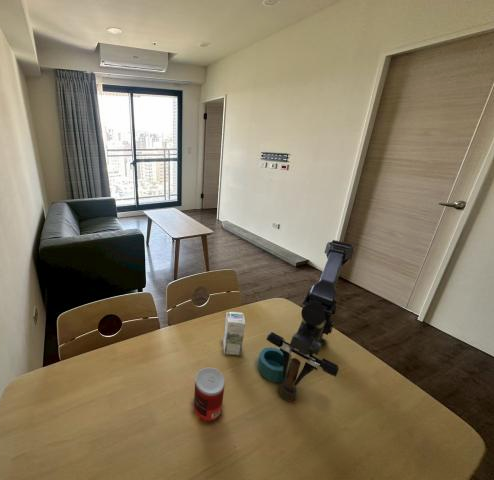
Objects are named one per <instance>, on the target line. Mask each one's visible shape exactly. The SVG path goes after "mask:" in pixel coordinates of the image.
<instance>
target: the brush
mask: <svg viewBox="0 0 494 480" xmlns="http://www.w3.org/2000/svg"><path fill="white" fill-rule="evenodd" d="M300 367H301V361H300V360H299V359H298V358H296V357H292V358H291V361H290V366H289V370H288V374H287V378H286V380H285V381H283V382H281V385H280V389H279V395H280V396H281V398H282V399H284V400H285V401H289V402H291V401H292V402H293V401H294V400H295V397H296V394H297V387H296V386H295V385H294V384H295V382H296V379H297V378H298V375H299V370H300Z"/></svg>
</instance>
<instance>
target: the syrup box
mask: <svg viewBox="0 0 494 480" xmlns="http://www.w3.org/2000/svg"><path fill="white" fill-rule="evenodd" d="M246 325H247V324H246V321H245V315H244V312H238V311H226V315H225V322H224V331H223V340H222V345H223V353H224V355H230V356H241V355H242V349H243V343H244V337H245V330H246Z"/></svg>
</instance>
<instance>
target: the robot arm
mask: <svg viewBox="0 0 494 480" xmlns="http://www.w3.org/2000/svg"><path fill="white" fill-rule="evenodd" d="M355 251H356V247H354V246H353V243H349V242H344V241H340V240H336V239H333V240H332V241H328V242H327V243H326V245H325V249H324V252H323V253H324V254H325V256H326V259H327V260H326V262H325V266H324V268H323V271H322V274H321V276H320V278H319V280H318V282H316V283H315V284H313V285H312V287H311V290H310V291H307V293H306V296H305V297H304V300H303V302H302V306H303V307H302V309H301V311H300V312H301V313H300V314H301V319H302V320H301V322H300V324H299V327H298V329H297V332H296V333H294V334H293V335H292V337H291V340H290V343H289V342H287V341H286V339H284V337H283V336H280V335H279V334H276V333H275V332H273V331H271V332H269V333H268V335H267V337H266V340H267V342H268V343H270V344H273V345H274V346H276V347H278V348H279V350H280V351H281V352H283V379H285V377H286V374H287V371H288V368H289V365H290V362H291V359H292V358H293V355H292V353H293V354H295V355H297V356H298V357H301V358H302V359H304V360H306V361H305V363H304V364H303V367H302V369H301V370H300V372H299V373H298V375H297V378H296V382H295V384H294V385H295V387H296V386H298V385H299V384H300V382H301V381H302V380H304V379H305V377H306V376H308V375H309V374H310V373H311V372H313V371H316V372H319V368H321V369H322V371H323V372H324V373H327V374H328V375H330V376H332V377H333V378H337V376H338V372H339V370H340V368H339V366H338V364H336V363H334V362H332V361H330V360H328V359H326V358H322V359H320V358H319V357H316V356H318V355H319V353H320V351H321V348H322V345H324V344H326V339H324V335H327V336H328V335H329V334H331V333H332V331H333V328H334V323H333V319H331V318H332V315H334V316H335V315H336V311H337V309H338V306H339V304H338V303H337V302H338V301H337V300H336V299H335V298H336V295H337V292H336V286H337V283H338V279H339V276H340V273H341V270H342V268H343V267H345V266H346V265H347V264H348V263H349V261H350V260H353V257H354V253H355Z"/></svg>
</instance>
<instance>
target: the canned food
mask: <svg viewBox="0 0 494 480" xmlns="http://www.w3.org/2000/svg"><path fill="white" fill-rule="evenodd" d="M225 383H226V382H225V377H224V375H223V373H222V372H220V370H218V369H216V368H214V367H204V368H202V369H200V370H198V371H197V373H196V375H195V380H194V393H193V394H194V395H193V409H194V412H195V415H196V416H197V417H198V418H199V419H200V420H201V421H204V422H213V421H215V420H217V419H218V418H219V416H220V415H221V412H222V409H223V400H224V394H225V386H226V385H225Z"/></svg>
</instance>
